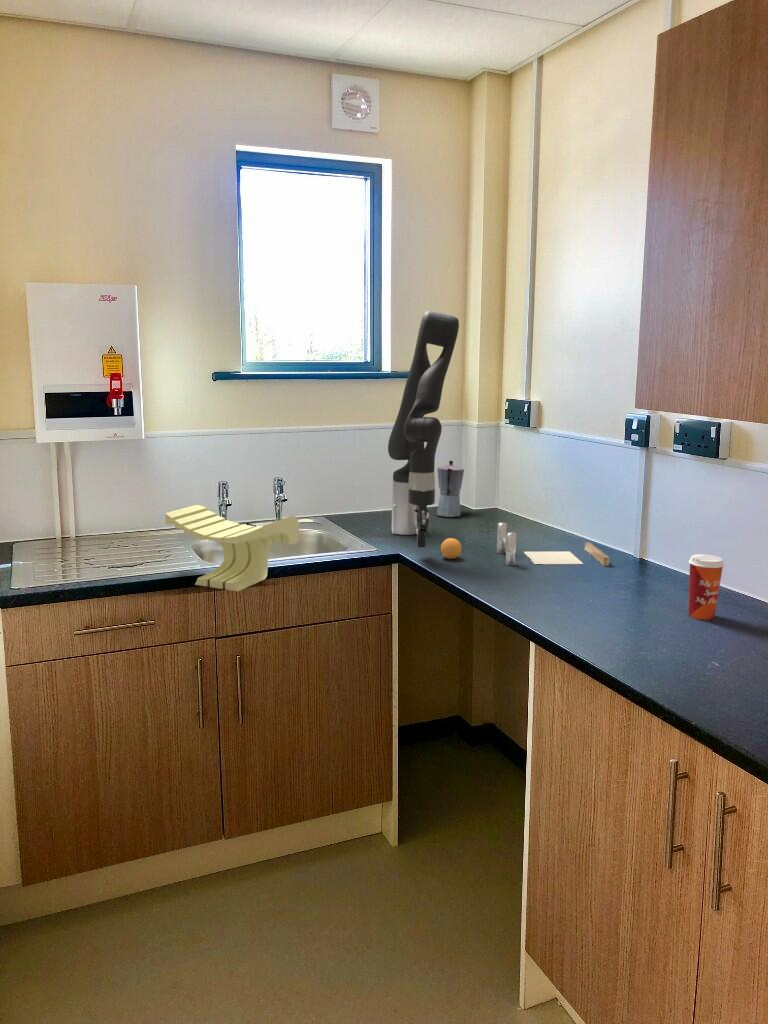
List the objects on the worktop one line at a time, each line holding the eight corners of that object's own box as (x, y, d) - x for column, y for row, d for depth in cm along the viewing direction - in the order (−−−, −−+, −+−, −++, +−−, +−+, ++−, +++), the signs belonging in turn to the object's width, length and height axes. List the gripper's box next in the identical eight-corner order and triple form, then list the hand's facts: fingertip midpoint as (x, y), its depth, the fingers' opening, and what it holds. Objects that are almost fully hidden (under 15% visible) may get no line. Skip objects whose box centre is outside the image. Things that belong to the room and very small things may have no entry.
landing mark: (534, 564, 236) (534, 563, 236) (523, 552, 250) (523, 551, 250) (583, 564, 237) (583, 563, 237) (569, 552, 251) (569, 551, 251)
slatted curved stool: (299, 579, 218) (298, 513, 215) (266, 596, 204) (265, 525, 201) (205, 565, 231) (203, 502, 227) (168, 580, 216) (165, 513, 213)
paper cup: (701, 623, 188) (706, 563, 186) (676, 613, 195) (681, 555, 192) (727, 619, 191) (733, 560, 189) (702, 609, 198) (707, 552, 196)
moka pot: (462, 512, 308) (464, 458, 304) (462, 520, 293) (464, 464, 289) (436, 511, 309) (438, 457, 305) (435, 520, 294) (436, 463, 290)
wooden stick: (603, 566, 236) (604, 557, 235) (584, 550, 253) (585, 542, 253) (608, 566, 236) (609, 557, 235) (589, 550, 253) (590, 542, 253)
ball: (442, 561, 239) (442, 540, 237) (439, 555, 245) (439, 536, 243) (462, 561, 239) (463, 540, 238) (459, 555, 245) (460, 536, 244)
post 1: (497, 553, 248) (498, 524, 246) (495, 551, 250) (496, 522, 249) (506, 553, 248) (507, 524, 246) (504, 551, 251) (505, 522, 249)
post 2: (506, 565, 235) (508, 534, 233) (504, 563, 238) (506, 532, 236) (515, 565, 235) (517, 534, 233) (513, 562, 238) (515, 532, 236)
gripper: (406, 483, 243) (405, 541, 246) (411, 491, 230) (410, 552, 233) (431, 483, 244) (430, 541, 247) (438, 491, 231) (437, 551, 234)
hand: (420, 546), depth 240 cm, fingers closed
